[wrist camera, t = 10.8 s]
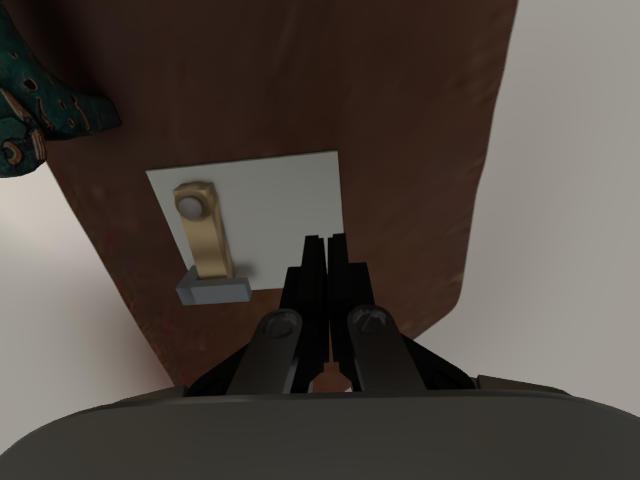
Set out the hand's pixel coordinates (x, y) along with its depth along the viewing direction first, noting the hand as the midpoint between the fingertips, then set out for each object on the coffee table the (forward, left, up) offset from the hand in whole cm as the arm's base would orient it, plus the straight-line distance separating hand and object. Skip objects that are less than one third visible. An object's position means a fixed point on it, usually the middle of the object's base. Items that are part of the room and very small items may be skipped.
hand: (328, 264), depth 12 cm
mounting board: (+11, -11, -25) cm, 30 cm away
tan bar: (+11, -17, -24) cm, 32 cm away
